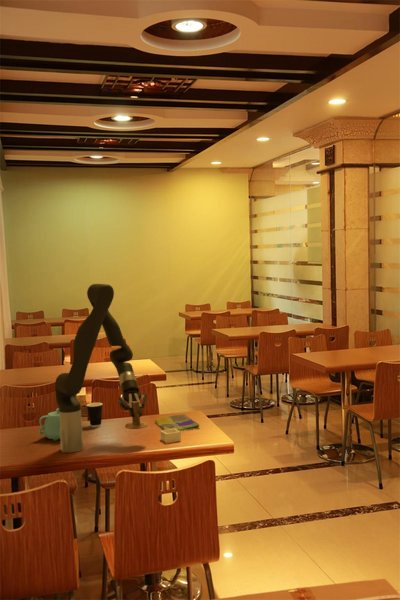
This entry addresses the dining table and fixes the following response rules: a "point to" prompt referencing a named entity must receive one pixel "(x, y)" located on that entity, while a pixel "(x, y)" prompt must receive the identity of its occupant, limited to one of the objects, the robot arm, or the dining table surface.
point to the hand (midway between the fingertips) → (137, 416)
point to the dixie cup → (95, 414)
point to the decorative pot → (51, 425)
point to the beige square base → (170, 435)
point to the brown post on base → (136, 418)
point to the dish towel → (177, 423)
